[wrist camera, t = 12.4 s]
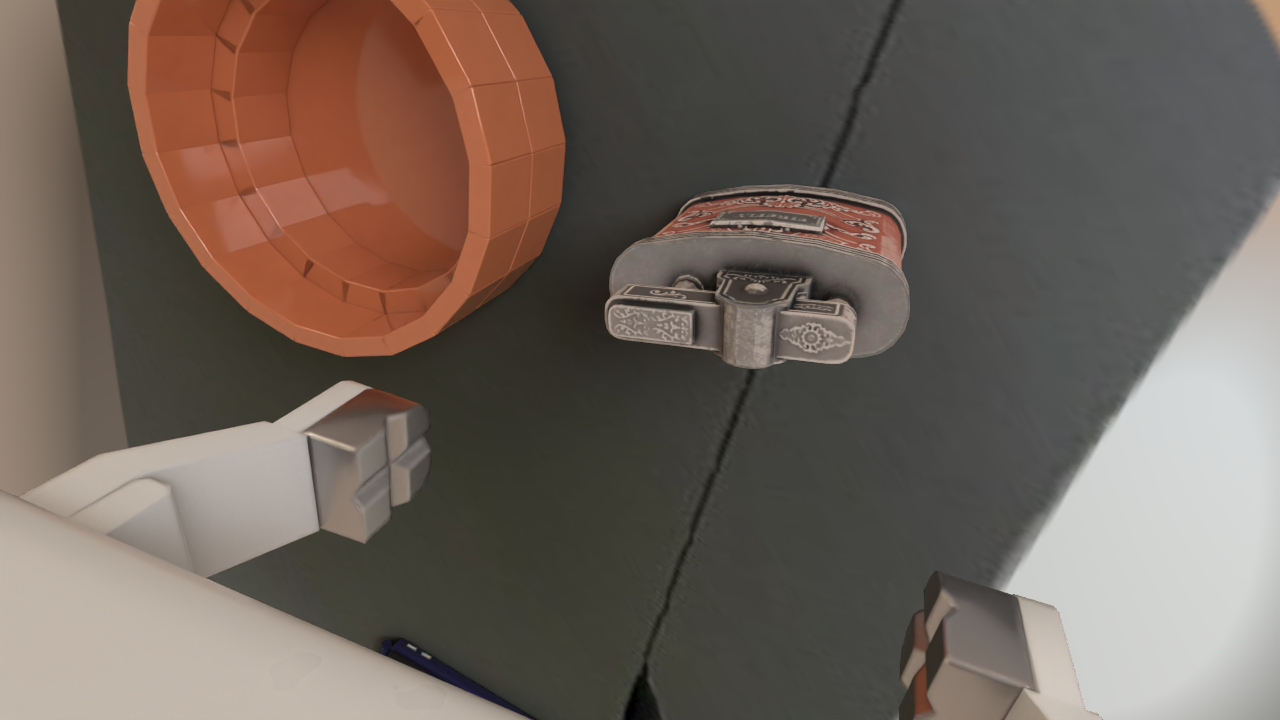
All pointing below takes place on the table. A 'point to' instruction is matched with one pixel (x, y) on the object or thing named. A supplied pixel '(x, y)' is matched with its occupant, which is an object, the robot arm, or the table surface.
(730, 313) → the lighter
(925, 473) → the table surface
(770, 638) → the table surface
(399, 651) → the laptop
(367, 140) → the bowl
